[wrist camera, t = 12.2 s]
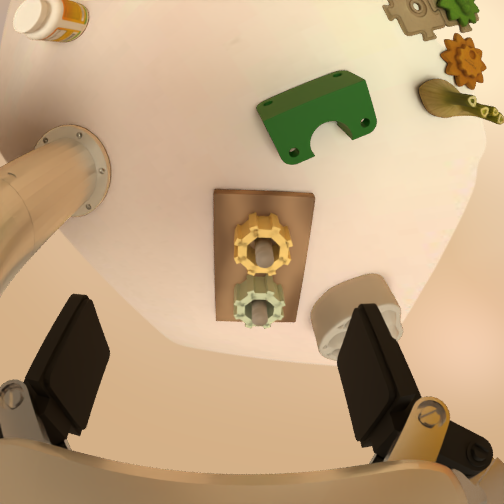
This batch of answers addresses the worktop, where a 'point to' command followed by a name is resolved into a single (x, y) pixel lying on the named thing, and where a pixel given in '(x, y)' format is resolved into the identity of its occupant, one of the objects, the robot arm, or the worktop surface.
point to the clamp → (317, 113)
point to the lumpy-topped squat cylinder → (341, 308)
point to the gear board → (239, 215)
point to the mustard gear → (265, 229)
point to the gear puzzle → (436, 17)
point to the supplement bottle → (51, 20)
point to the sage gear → (258, 290)
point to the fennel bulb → (454, 102)
